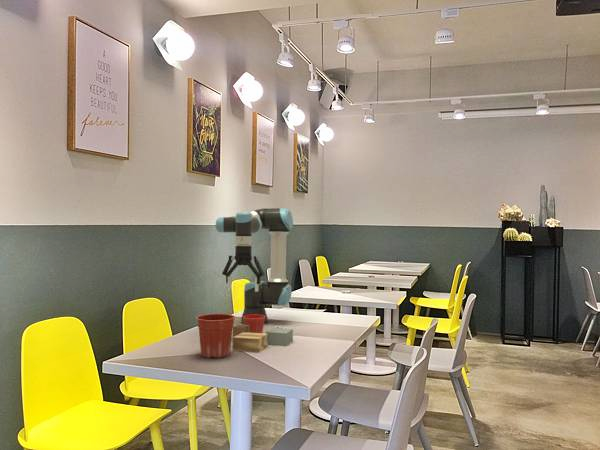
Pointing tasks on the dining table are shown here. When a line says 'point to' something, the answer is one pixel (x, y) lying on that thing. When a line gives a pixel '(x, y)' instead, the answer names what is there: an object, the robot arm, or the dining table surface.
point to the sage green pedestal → (280, 336)
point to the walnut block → (240, 329)
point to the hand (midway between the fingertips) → (243, 290)
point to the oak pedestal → (250, 342)
